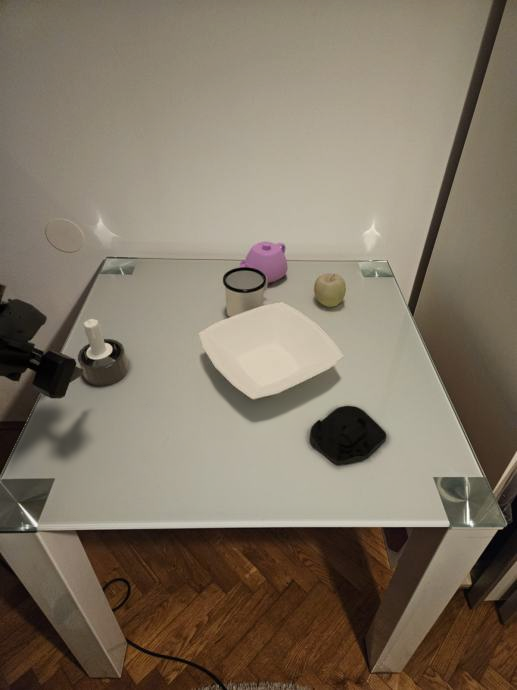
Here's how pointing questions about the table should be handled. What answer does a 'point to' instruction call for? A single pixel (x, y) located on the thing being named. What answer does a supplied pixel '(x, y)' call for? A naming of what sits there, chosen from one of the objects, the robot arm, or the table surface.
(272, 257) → the teapot
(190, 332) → the table surface
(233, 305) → the mug
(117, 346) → the holder
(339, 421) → the black low lumpy piece
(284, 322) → the bowl
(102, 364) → the candle
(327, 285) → the fruit
